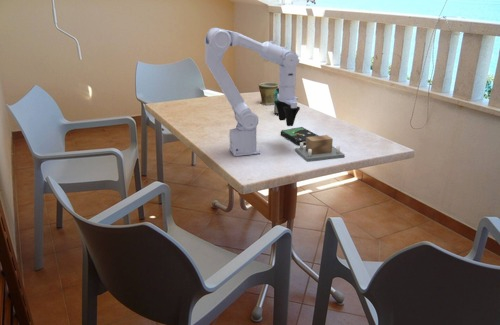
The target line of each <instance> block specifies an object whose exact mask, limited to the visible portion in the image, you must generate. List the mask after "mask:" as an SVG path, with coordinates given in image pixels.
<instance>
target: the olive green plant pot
mask: <svg viewBox="0 0 500 325" xmlns="http://www.w3.org/2000/svg"><path fill="white" fill-rule="evenodd" d="M277 88H279V83H276V82H262V83H259V84H258V89H259V94H260V99H261V104H262V105H264V106H274V104H275V103H274V101H275V92H276V89H277Z"/></svg>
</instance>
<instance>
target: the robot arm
mask: <svg viewBox="0 0 500 325" xmlns="http://www.w3.org/2000/svg"><path fill="white" fill-rule="evenodd" d="M236 46H241V47H244V48H247V49H249V50H252V51H254V52H257V53H258V54H259V57H260V58H261V59H264V60H266V61H269V62H271V63H273V64H276V65H278V66H279V73H278V74H279V75H278V77H279V78H278V80H279V81H278V88H279V94H277V99H278V101H274V104H275V105H276V107H277V111H278V115H277V116H278V119H279V121H280V122H281V121H285V124H286V127H293V126H294V123H295V121H296V117H297V115H298V112H299V111H300V109H301V107H300V106H298V102H297V100H299V97H297V96H296V84H297V83H296V80H297V72H296V71H297V67H298V65H299V64H300V59H299V56H298V54H297V53H296V52H295V51H293V50H289V49H288V48H287V47H286V46H279V45H278V44H276V43H275V41H273V40H269V41H268V40H267V41H264V42H260V41H257V40H255V39H254V38H251V37H248V36H246V35H244V34H242V33H240V32H236V31H234V30H233V31H232V30H227V29H223V28H220V27H217V26H216V27H211V28H210V29H209V30H207V33H206V35H205V37H204V62H205V65H206V66H207V68H208V70H209V71H210V73H211V74H212V76H213V78H214V79H215V82H217V85H218V86H219V88H220V90H221V91H222V93H223V94H224V96H225V98H226V99H227V101H228V103H229V104H230V106H231V108H232V110H233V113H234V118H235V121H236V122H237V123H236V125H235V128H231V129H230V130H229V136H228V137H229V149H228V150H230V153H231V154H232V155H233V156H234V157H241V156H250V155H259V154H261V152H260V151H259V149H258V148H257V129H258V128H257V127H258V125H259V117H258V115H257V114H256V113H255V112H253V111H252V110H251V108H250V107H249V105H248V104H247V103H246V101H245V99H244V98H243V96H242V95H241V93H240V91H239V90H238V87H237V86H236V84H235V82H234V81H233V79H232V77H231V75H230V74H229V72H228V70H227V69H226V67H225V65H224V64H223V58H224V55H225V52H226V51H227V50H228V49H229V47H232V48H233V47H236Z"/></svg>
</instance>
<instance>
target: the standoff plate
mask: <svg viewBox="0 0 500 325" xmlns="http://www.w3.org/2000/svg"><path fill="white" fill-rule="evenodd" d="M340 150H341V146H340V145H336V147H335V146H333V145H332V152H331V153H322V154H313V155H311V154H312V149H308V152H307V151H306V146H304V145H303V142H300V146H299V147H296V148H294V151H295V153H297V154H298V155H299V156H300V157H301V158H303V159H304V160H305V161H306V162H314V161H315V162H316V161H323V160H333V159H340V158H345V156H346V154H344V153H343V152H342V151H340Z"/></svg>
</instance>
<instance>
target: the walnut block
mask: <svg viewBox="0 0 500 325" xmlns="http://www.w3.org/2000/svg"><path fill="white" fill-rule="evenodd" d="M333 139H334V138H332V137H331V136H329V135H328V134H325V135H324V134H323V135H319V136H312V137H306V145H305V147H306V151H307V152H308V149H312V154H311V155H313V154H322V153H331V152H332V146H333V142H334V141H333Z"/></svg>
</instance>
